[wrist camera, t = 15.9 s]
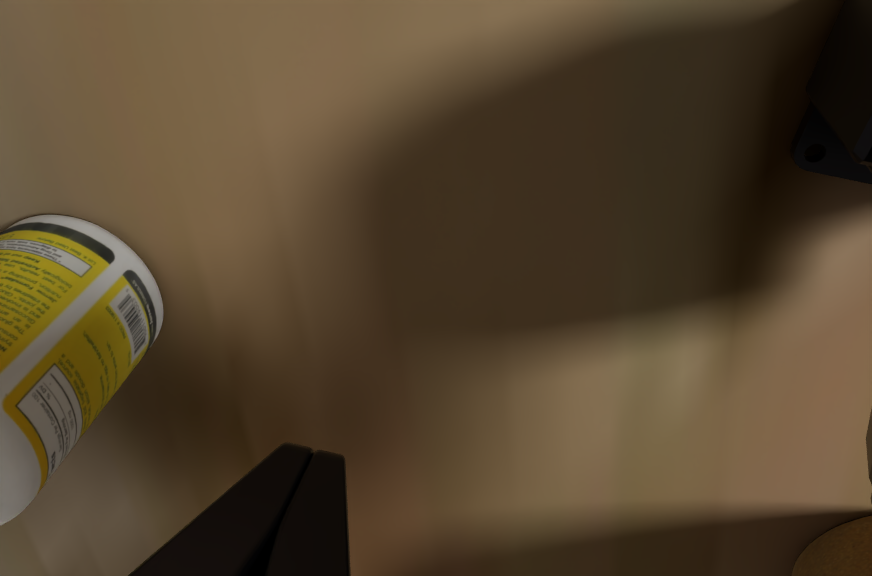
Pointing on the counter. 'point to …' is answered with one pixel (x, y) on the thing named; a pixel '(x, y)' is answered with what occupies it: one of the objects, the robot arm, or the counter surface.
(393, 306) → the counter surface
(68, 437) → the pill bottle
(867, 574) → the plant pot
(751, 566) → the counter surface
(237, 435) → the counter surface
